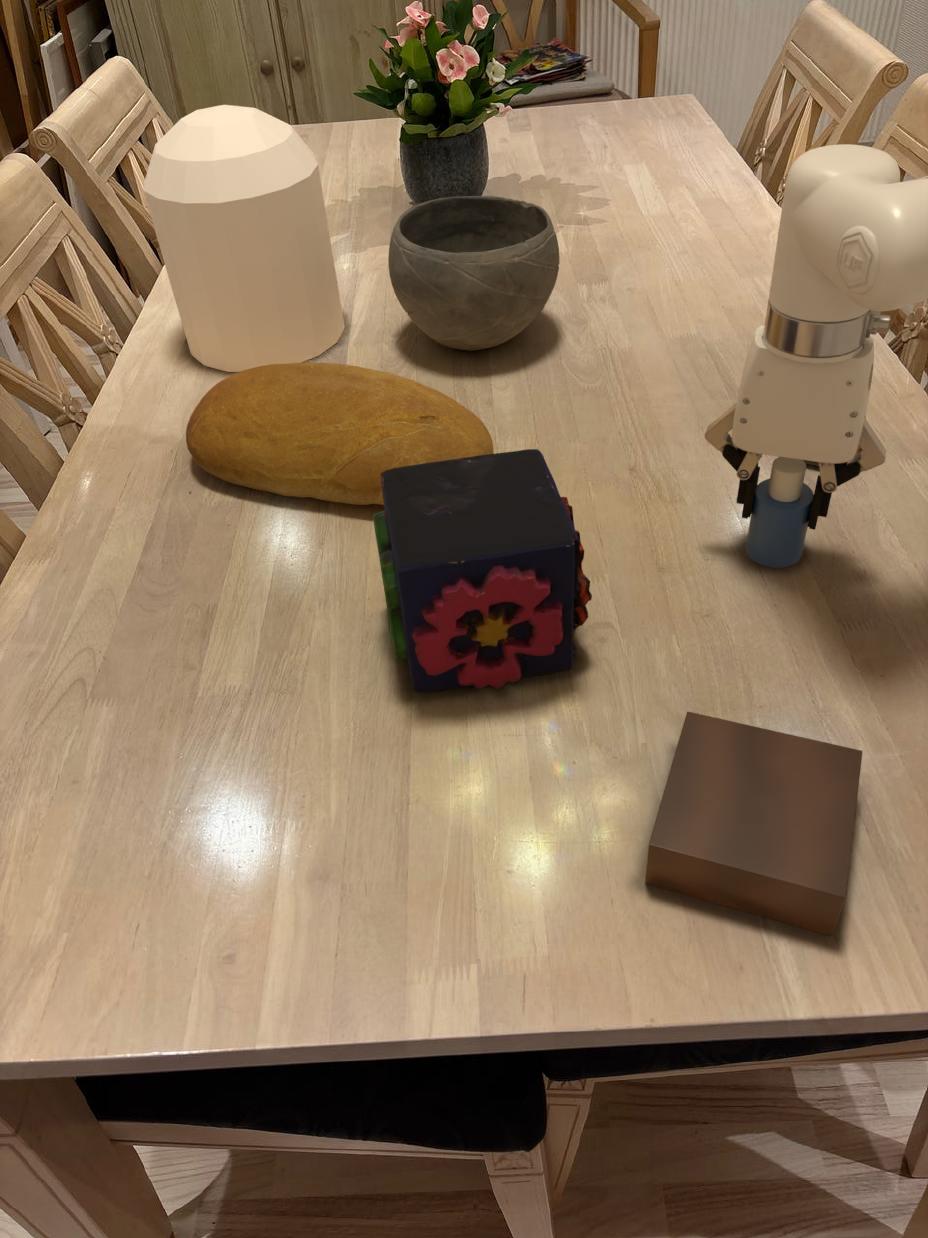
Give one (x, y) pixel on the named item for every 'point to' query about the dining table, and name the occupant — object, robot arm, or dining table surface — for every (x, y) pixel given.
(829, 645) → the dining table surface
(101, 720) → the dining table surface
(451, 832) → the dining table surface
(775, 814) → the block
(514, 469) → the decorative cube
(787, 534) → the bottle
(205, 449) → the bread
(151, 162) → the container
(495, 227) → the bowl
